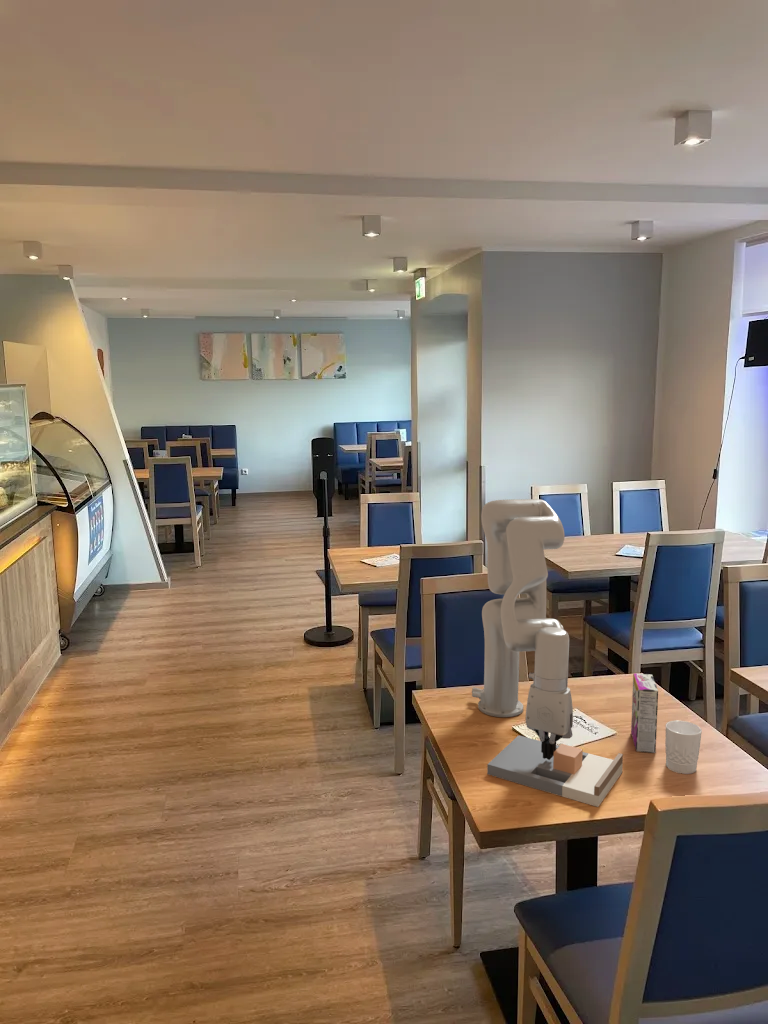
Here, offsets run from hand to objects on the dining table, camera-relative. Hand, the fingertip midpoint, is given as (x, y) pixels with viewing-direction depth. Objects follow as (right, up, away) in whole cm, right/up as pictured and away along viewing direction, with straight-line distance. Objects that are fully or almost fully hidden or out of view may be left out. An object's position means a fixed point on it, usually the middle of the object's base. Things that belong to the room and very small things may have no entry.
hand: (548, 756), depth 175 cm
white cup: (+32, -4, +2) cm, 32 cm away
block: (+4, -2, -2) cm, 5 cm away
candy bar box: (+27, -2, +15) cm, 31 cm away
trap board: (+1, -4, 0) cm, 4 cm away
